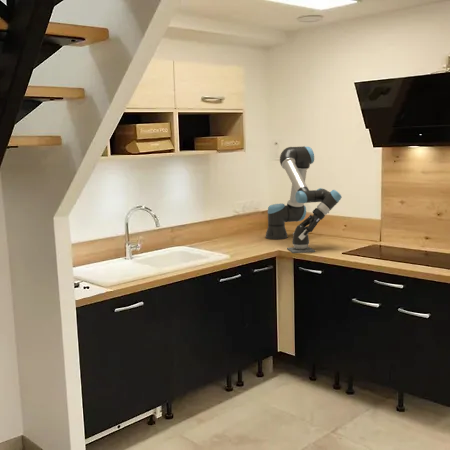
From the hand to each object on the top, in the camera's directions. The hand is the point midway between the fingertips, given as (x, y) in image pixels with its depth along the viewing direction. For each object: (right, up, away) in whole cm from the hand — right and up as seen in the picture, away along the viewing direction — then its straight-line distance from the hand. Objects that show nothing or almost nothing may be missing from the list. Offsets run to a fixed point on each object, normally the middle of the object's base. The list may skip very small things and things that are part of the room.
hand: (296, 237), depth 354 cm
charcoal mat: (+3, -8, +2) cm, 9 cm away
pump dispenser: (+3, -8, +1) cm, 8 cm away
